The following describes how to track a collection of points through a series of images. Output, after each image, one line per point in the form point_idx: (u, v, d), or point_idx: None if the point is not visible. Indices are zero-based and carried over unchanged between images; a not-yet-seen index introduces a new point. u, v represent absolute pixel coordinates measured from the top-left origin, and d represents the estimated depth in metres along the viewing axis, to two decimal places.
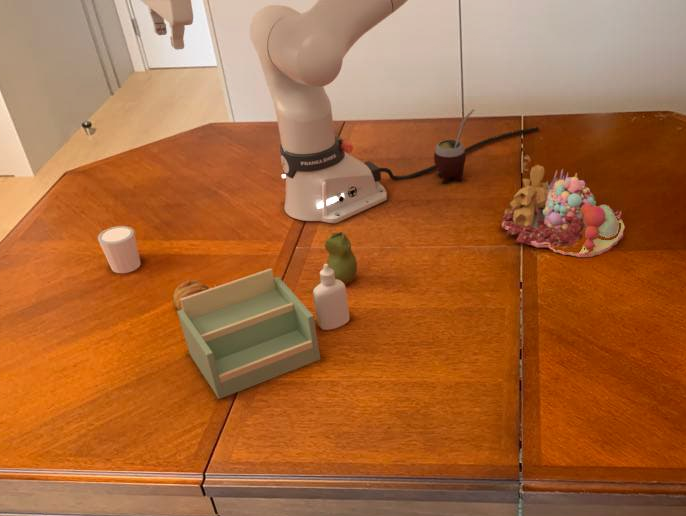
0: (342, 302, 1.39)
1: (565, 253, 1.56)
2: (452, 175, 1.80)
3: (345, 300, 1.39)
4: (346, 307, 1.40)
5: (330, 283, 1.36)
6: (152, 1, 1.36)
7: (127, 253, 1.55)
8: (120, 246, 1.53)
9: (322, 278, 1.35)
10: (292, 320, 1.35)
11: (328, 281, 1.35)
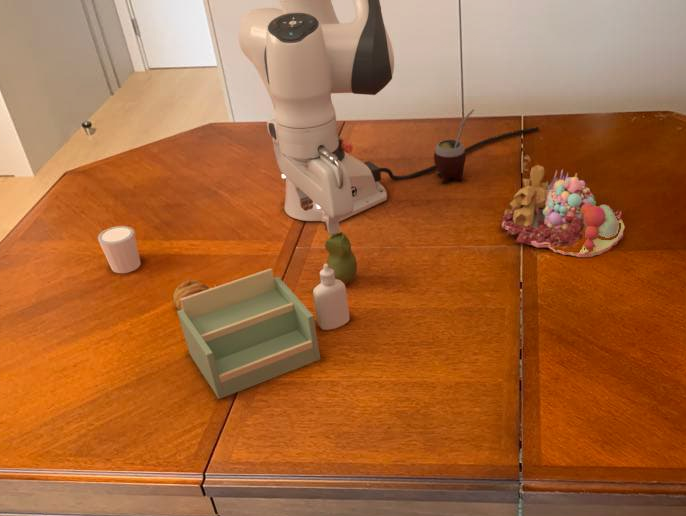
0: (342, 302, 1.39)
1: (565, 253, 1.56)
2: (452, 175, 1.80)
3: (345, 300, 1.39)
4: (346, 307, 1.40)
5: (330, 283, 1.36)
6: (302, 184, 1.24)
7: (127, 253, 1.55)
8: (120, 246, 1.53)
9: (322, 278, 1.35)
10: (292, 320, 1.35)
11: (328, 281, 1.35)
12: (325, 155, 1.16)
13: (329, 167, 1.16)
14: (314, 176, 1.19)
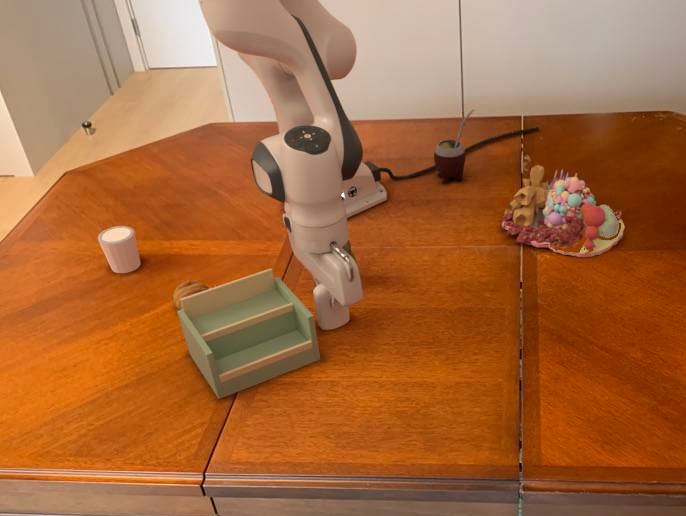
0: None
1: (565, 253, 1.56)
2: (452, 175, 1.80)
3: None
4: (346, 307, 1.40)
5: None
6: (315, 272, 1.35)
7: (127, 253, 1.55)
8: (120, 246, 1.53)
9: None
10: (292, 320, 1.35)
11: None
12: (337, 251, 1.26)
13: (340, 262, 1.26)
14: (326, 268, 1.30)
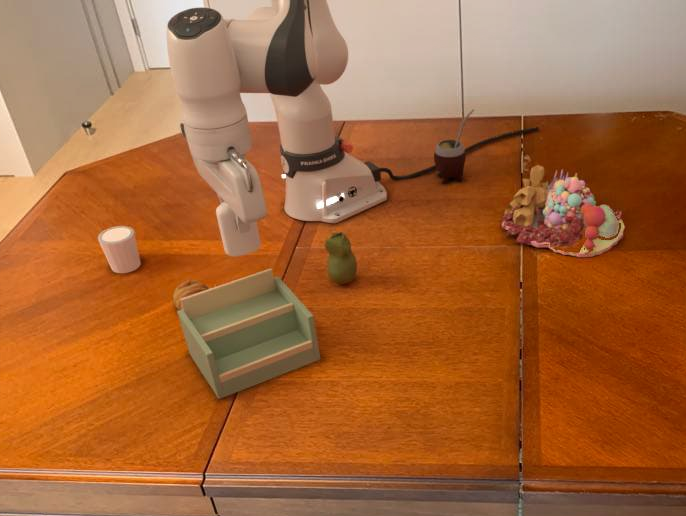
0: (250, 224, 1.23)
1: (565, 253, 1.56)
2: (452, 175, 1.80)
3: (254, 222, 1.23)
4: (255, 231, 1.24)
5: None
6: (217, 187, 1.19)
7: (127, 253, 1.55)
8: (120, 246, 1.53)
9: None
10: (292, 320, 1.35)
11: None
12: (234, 157, 1.10)
13: (238, 170, 1.10)
14: (225, 179, 1.14)
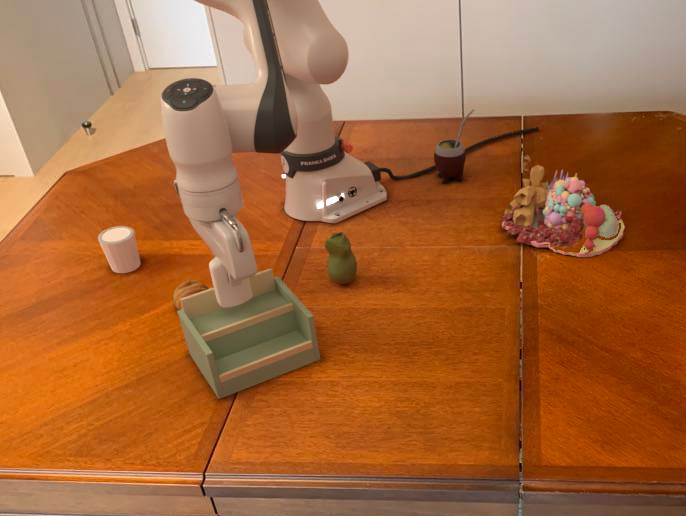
0: None
1: (565, 253, 1.56)
2: (452, 175, 1.80)
3: None
4: (247, 283, 1.29)
5: None
6: (210, 243, 1.24)
7: (127, 253, 1.55)
8: (120, 246, 1.53)
9: None
10: (292, 320, 1.35)
11: None
12: (225, 219, 1.15)
13: (229, 231, 1.15)
14: (218, 238, 1.19)
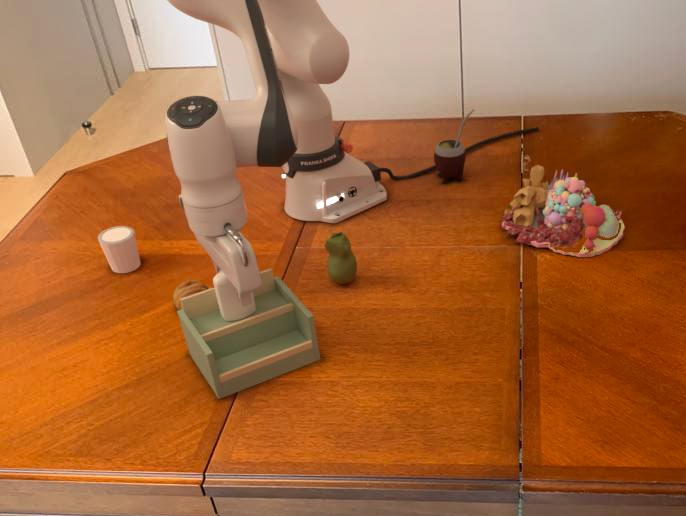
0: None
1: (565, 253, 1.56)
2: (452, 175, 1.80)
3: None
4: None
5: None
6: (214, 257, 1.25)
7: (127, 253, 1.55)
8: (120, 246, 1.53)
9: None
10: (292, 320, 1.35)
11: None
12: (230, 234, 1.17)
13: (234, 246, 1.17)
14: (222, 252, 1.21)
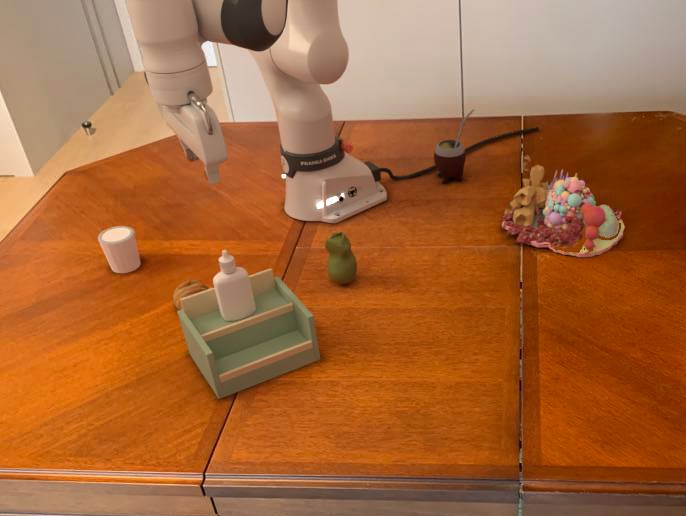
0: (245, 291, 1.30)
1: (565, 253, 1.56)
2: (452, 175, 1.80)
3: (249, 289, 1.30)
4: (250, 297, 1.31)
5: (230, 271, 1.27)
6: (181, 133, 1.23)
7: (127, 253, 1.55)
8: (120, 246, 1.53)
9: (221, 265, 1.26)
10: (292, 320, 1.35)
11: (227, 269, 1.26)
12: (193, 101, 1.14)
13: (198, 113, 1.14)
14: (187, 123, 1.18)
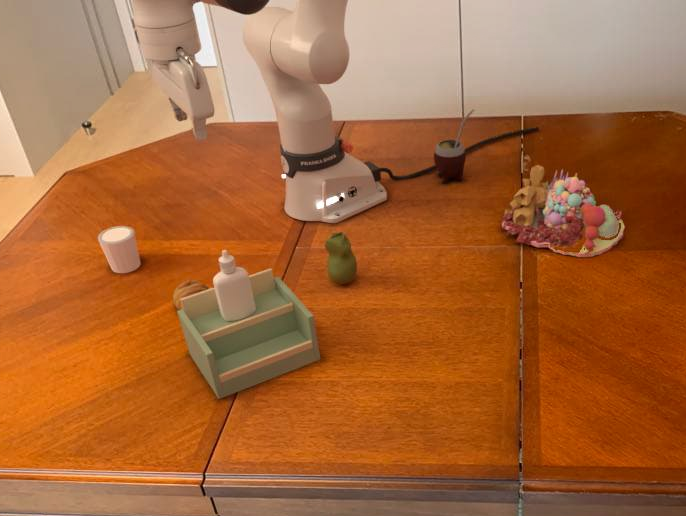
0: (245, 291, 1.30)
1: (565, 253, 1.56)
2: (452, 175, 1.80)
3: (249, 289, 1.30)
4: (250, 297, 1.31)
5: (230, 271, 1.27)
6: (169, 91, 1.26)
7: (127, 253, 1.55)
8: (120, 246, 1.53)
9: (221, 265, 1.26)
10: (292, 320, 1.35)
11: (227, 269, 1.26)
12: (181, 55, 1.18)
13: (185, 67, 1.18)
14: (175, 79, 1.22)
